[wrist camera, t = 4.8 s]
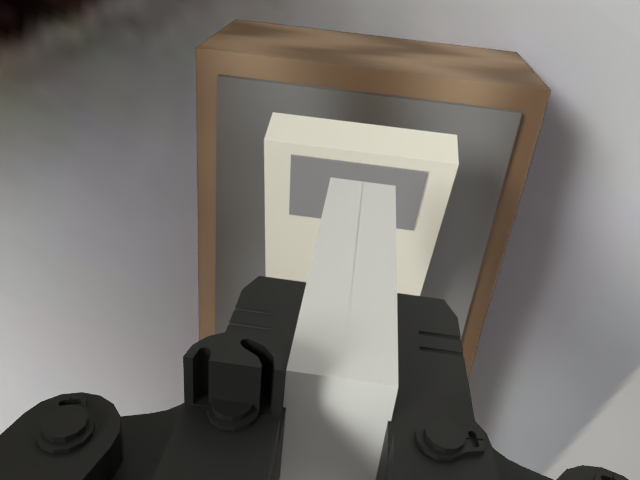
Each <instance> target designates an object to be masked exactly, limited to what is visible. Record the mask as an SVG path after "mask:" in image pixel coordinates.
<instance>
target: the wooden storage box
mask: <svg viewBox="0 0 640 480" xmlns="http://www.w3.org/2000/svg"><path fill="white" fill-rule="evenodd" d="M550 91H551V90H550V89H549V87H548V86H547V85H546V84H545V83H544V82H543V81H542V80H541V79H540V78H539V76H538V75H537V74H536V73H535V72H534V71H533V70H532V69H531V68H530V66H529V65H528V64H527V63H526V62H525V61H524V60H523V59H522V58H521V56H520V55H519V54H518V53H517V52H510V51H502V50H493V49H484V48H476V47H467V46H459V45H450V44H442V43H433V42H424V41H416V40H407V39H399V38H390V37H382V36H373V35H365V34H356V33H347V32H339V31H330V30H322V29H313V28H305V27H296V26H287V25H279V24H270V23H262V22H253V21H245V20H234V21H233V22H231V23H230V24H229V25H227V26H226V27H224V28H223V29H222V30H220V31H219V32H217V33H216V34H215V35H213V36H212V37H210V38H209V39H208V40H206V41H205V42H203V43H202V44H201V45H199V46H198V47H196V92H197V186H198V280H199V341H200V340H202V339H204V338H206V337H207V336H211V335H215V334H219V333H223V332H225V331H226V329H227V326H228V325H229V321H230V319H231V316H232V314H233V311H234V310H235V306H236V304H237V301H238V299H239V296H240V294H241V291H242V289H243V288H244V287H246V286H247V285H248V284H249V283H251V282H252V281H253V280H254V279H255V278H257V277H258V276H264V277H266V267H265V184H264V138H265V135H266V132H267V129H268V126H269V122H270V119H271V116H272V113H273V112H275V113H283V114H291V115H300V116H308V117H316V118H324V119H332V120H340V121H348V122H356V123H364V124H373V125H381V126H389V127H397V128H405V129H413V130H421V131H429V132H438V133H446V134H454V135H457V141H458V158H459V166H458V169H457V172H456V176H455V179H454V182H453V186H452V189H451V193H450V196H449V199H448V203H447V206H446V209H445V213H444V216H443V220H442V223H441V226H440V230H439V233H438V236H437V240H436V243H435V247H434V250H433V253H432V257H431V260H430V263H429V267H428V270H427V274H426V277H425V280H424V284H423V287H422V290H421V294H420V296H423V297H430V298H437V299H444V300H445V301H446V303H447V304H448V305H449V307H450V308H451V309H452V311H453V312H454V313H455V315H456V316H457V317H458V323H459V329H460V335H461V338H460V340H461V341H462V347H463V357H464V359H465V365H466V372H467V378H468V376H469V373H470V370H471V366H472V363H473V359H474V356H475V352H476V349H477V343H478V340H479V337H480V333H481V330H482V326H483V323H484V319H485V316H486V312H487V309H488V305H489V302H490V300H491V297H492V294H493V290H494V287H495V283H496V280H497V276H498V273H499V269H500V266H501V263H502V259H503V256H504V252H505V249H506V245H507V242H508V238H509V235H510V232H511V228H512V225H513V221H514V218H515V214H516V211H517V207H518V204H519V201H520V197H521V194H522V190H523V187H524V183H525V180H526V176H527V173H528V169H529V166H530V163H531V159H532V156H533V152H534V149H535V145H536V142H537V138H538V135H539V132H540V128H541V125H542V121H543V118H544V112H545V108H546V105H547V102H548V98H549V95H550Z"/></svg>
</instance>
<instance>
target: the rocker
mask: <svg viewBox="0 0 640 480" xmlns="http://www.w3.org/2000/svg"><path fill="white" fill-rule="evenodd" d="M458 166H459V158H458V141H457V135H454V134H446V133H438V132H429V131H421V130H413V129H405V128H397V127H389V126H381V125H373V124H364V123H356V122H348V121H340V120H332V119H324V118H316V117H308V116H300V115H291V114H283V113H275V112H273V113H272V116H271V119H270V122H269V126H268V129H267V132H266V135H265V138H264V184H265V267H266V277H272V278H279V279H286V280H293V281H301V282H307V278H308V274H309V269H310V265H311V260H312V256H313V252H314V247H315V243H316V239H317V234H318V230H319V226H320V221H321V217H322V213H323V208H324V204H325V200H326V195H327V191H328V187H329V182H330V178H331V177H332V178H340V179H347V180H355V181H363V182H370V183H378V184H386V185H394V186H396V249H397V293H401V294H408V295H416V296H420V294H421V290H422V287H423V284H424V280H425V277H426V274H427V270H428V267H429V263H430V260H431V257H432V253H433V250H434V247H435V243H436V240H437V236H438V233H439V230H440V226H441V223H442V220H443V216H444V213H445V209H446V206H447V203H448V199H449V196H450V193H451V189H452V186H453V182H454V179H455V176H456V172H457V169H458Z"/></svg>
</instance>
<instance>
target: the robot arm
mask: <svg viewBox="0 0 640 480" xmlns="http://www.w3.org/2000/svg"><path fill="white" fill-rule="evenodd" d="M460 338H461V335H460V329H459V323H458V317H457V316H456V315H455V313H454V312H453V311H452V309H451V308H450V307H449V305H448V304H447V303H446V301H445V300H444V299H437V298H430V297H423V296H416V295H408V294H401V293H397V249H396V186H394V185H386V184H378V183H370V182H363V181H355V180H347V179H340V178H332V177H331V178H330V182H329V187H328V191H327V195H326V200H325V204H324V208H323V213H322V217H321V221H320V226H319V230H318V234H317V239H316V243H315V247H314V252H313V256H312V260H311V265H310V269H309V274H308V278H307V282H301V281H293V280H286V279H279V278H272V277H264V276H258V277H257V278H255V279H254V280H253V281H252V282H251V283H249V284H248V285H247V286H246V287H244V288H243V289H242V291H241V294H240V296H239V299H238V301H237V304H236V306H235V310H234V311H233V314H232V316H231V319H230V321H229V325H228V326H227V329H226V331H225V332H223V333H219V334H215V335H211V336H207V337H206V338H204V339H202V340H200V341H199V342H197V343H195V344H193V345H192V346H191V348H190V349H189V350H188V351H187V353H186V354H185V355H184V357H183V363H184V400H185V402H184V403H183V404H181V405H179V406H177V407H174V408H171V409H169V410H166V411H161V412H156V413H150V414H141V415H132V416H123V417H120V415H119V413H118V411H117V409H116V408H115V406H114V404H113V403H111V402H109V401H108V400H106V399H104V398H103V397H101V396H99V395H93V394H88V393H82V392H81V393H71V394H61V395H59V396H56V397H53V398H50V399H48V400H45V401H42V402H40V403H39V404H37V405H36V406H34V407H33V408H31V409H30V410H28V411H27V412H25V413H24V414H23V415H22V416H21V417H20V418H18V419H17V420H16V421H15V422H14V423H13V424H12V425H11V426H10V427H9V428H7V429H6V430H5V431H4V432H3V433H2V434H1V435H0V480H553V479H551V478H548V477H546V476H543V475H541V474H539V473H536V472H534V471H531V470H529V469H527V468H524V467H522V466H520V465H518V464H516V463H514V462H512V461H510V460H508V459H507V458H505V457H504V456H503V455H501V454H500V453H499V452H497V451H496V450H494V448H493V447H492V446H491V443H490V441H489V439H488V436H487V434H486V433H485V431H484V430H483V429H482V428H481V427H480V426H479V425H478V424H477V423H476V422H475V419H474V414H473V408H472V402H471V396H470V390H469V384H468V378H467V372H466V365H465V359H464V357H463V347H462V341H461V340H460ZM557 480H628V479H627V478H625V477H624V476H622V475H619V474H617V473H614V472H612V471H609V470H607V469H604V468H601V467H593V466H584V465H582V466H578V467H575V468H570V469H566V471H565V472H564V473H563V474H562V475H561V476H560V477H559V478H558V479H557Z"/></svg>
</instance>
